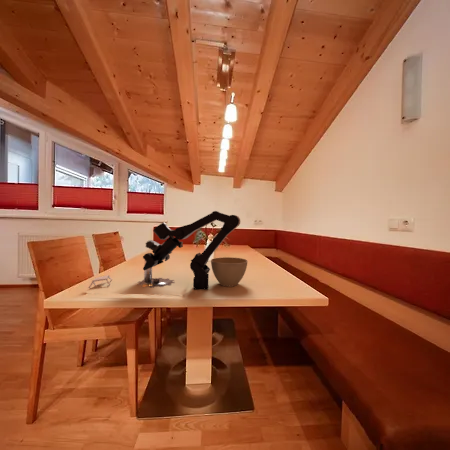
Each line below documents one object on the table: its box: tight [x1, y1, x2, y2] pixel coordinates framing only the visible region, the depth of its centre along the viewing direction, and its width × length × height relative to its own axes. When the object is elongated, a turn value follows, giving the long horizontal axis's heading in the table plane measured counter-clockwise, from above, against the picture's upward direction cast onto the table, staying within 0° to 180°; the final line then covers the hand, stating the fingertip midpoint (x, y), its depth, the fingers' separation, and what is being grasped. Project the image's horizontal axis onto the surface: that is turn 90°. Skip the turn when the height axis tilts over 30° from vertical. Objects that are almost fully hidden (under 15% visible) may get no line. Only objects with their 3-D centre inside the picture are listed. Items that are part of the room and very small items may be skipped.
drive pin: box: [143, 260, 153, 282], centre depth 116 cm, size 4×4×11 cm
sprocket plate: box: [137, 277, 176, 289], centre depth 114 cm, size 17×17×3 cm
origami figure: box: [87, 274, 113, 289], centre depth 107 cm, size 12×8×5 cm
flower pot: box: [210, 256, 248, 287], centre depth 119 cm, size 18×18×12 cm
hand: (145, 268), depth 116 cm, fingers closed on drive pin, 4 cm apart
